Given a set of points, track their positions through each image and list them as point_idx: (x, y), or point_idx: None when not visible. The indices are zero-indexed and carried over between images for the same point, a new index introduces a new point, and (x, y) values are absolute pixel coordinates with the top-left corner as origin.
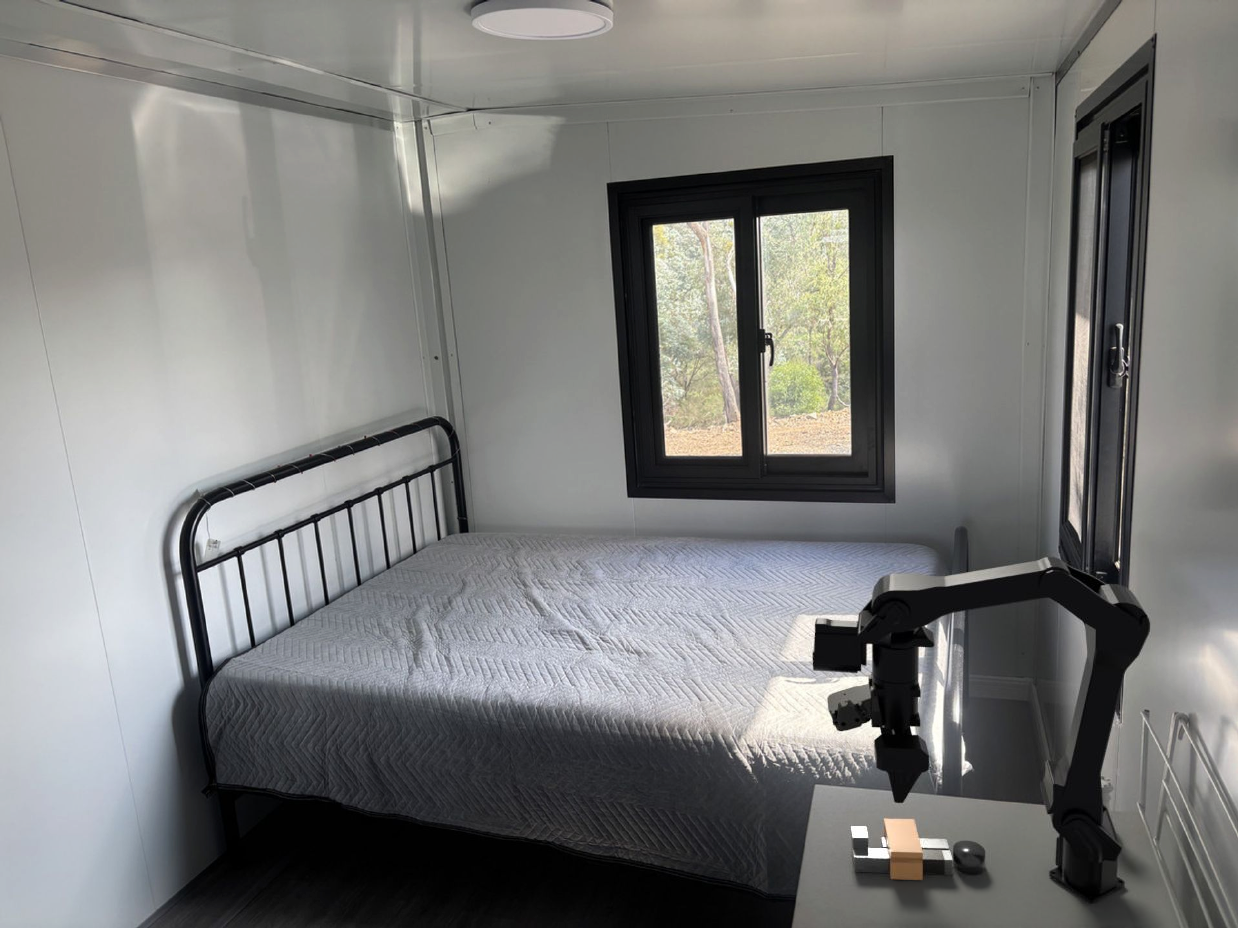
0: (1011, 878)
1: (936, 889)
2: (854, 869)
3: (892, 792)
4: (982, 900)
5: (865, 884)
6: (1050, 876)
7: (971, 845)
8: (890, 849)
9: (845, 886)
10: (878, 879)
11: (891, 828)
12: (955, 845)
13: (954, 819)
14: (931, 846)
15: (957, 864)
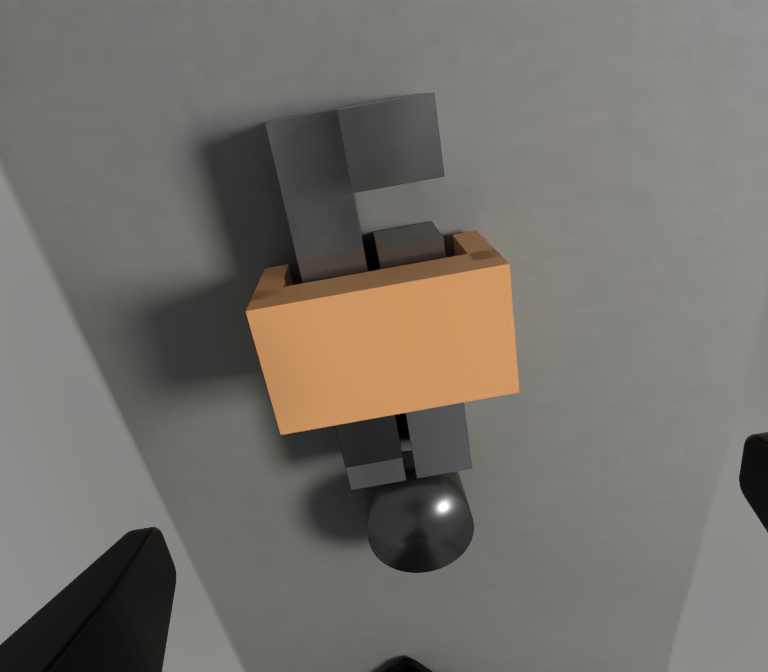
0: (377, 584)
1: (267, 409)
2: (278, 118)
3: (29, 619)
4: (255, 524)
5: (215, 170)
6: (401, 661)
7: (447, 537)
8: (262, 308)
9: (173, 85)
10: (262, 219)
11: (430, 303)
12: (437, 495)
13: (655, 448)
14: (417, 424)
15: None
